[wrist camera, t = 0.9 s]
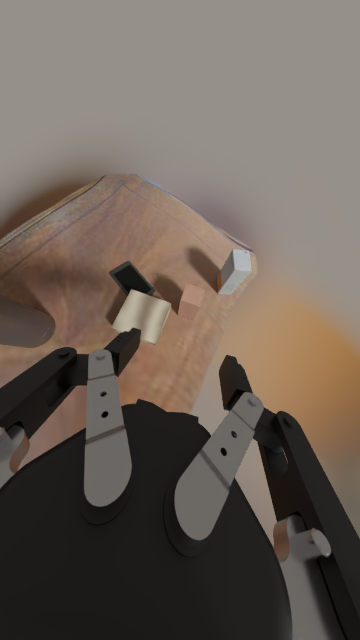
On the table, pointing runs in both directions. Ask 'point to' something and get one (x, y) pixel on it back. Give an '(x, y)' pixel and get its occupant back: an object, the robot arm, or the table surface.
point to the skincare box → (233, 271)
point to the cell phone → (131, 279)
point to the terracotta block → (190, 301)
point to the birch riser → (143, 316)
